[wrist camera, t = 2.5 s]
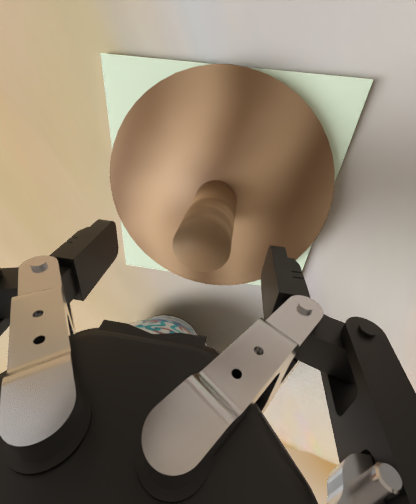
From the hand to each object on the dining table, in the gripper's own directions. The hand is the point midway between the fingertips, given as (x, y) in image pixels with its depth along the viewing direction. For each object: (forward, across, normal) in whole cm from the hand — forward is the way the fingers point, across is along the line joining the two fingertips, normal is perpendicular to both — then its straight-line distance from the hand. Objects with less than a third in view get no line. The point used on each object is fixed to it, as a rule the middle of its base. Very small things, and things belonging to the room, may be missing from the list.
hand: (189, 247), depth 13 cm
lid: (+8, -1, 0) cm, 9 cm away
